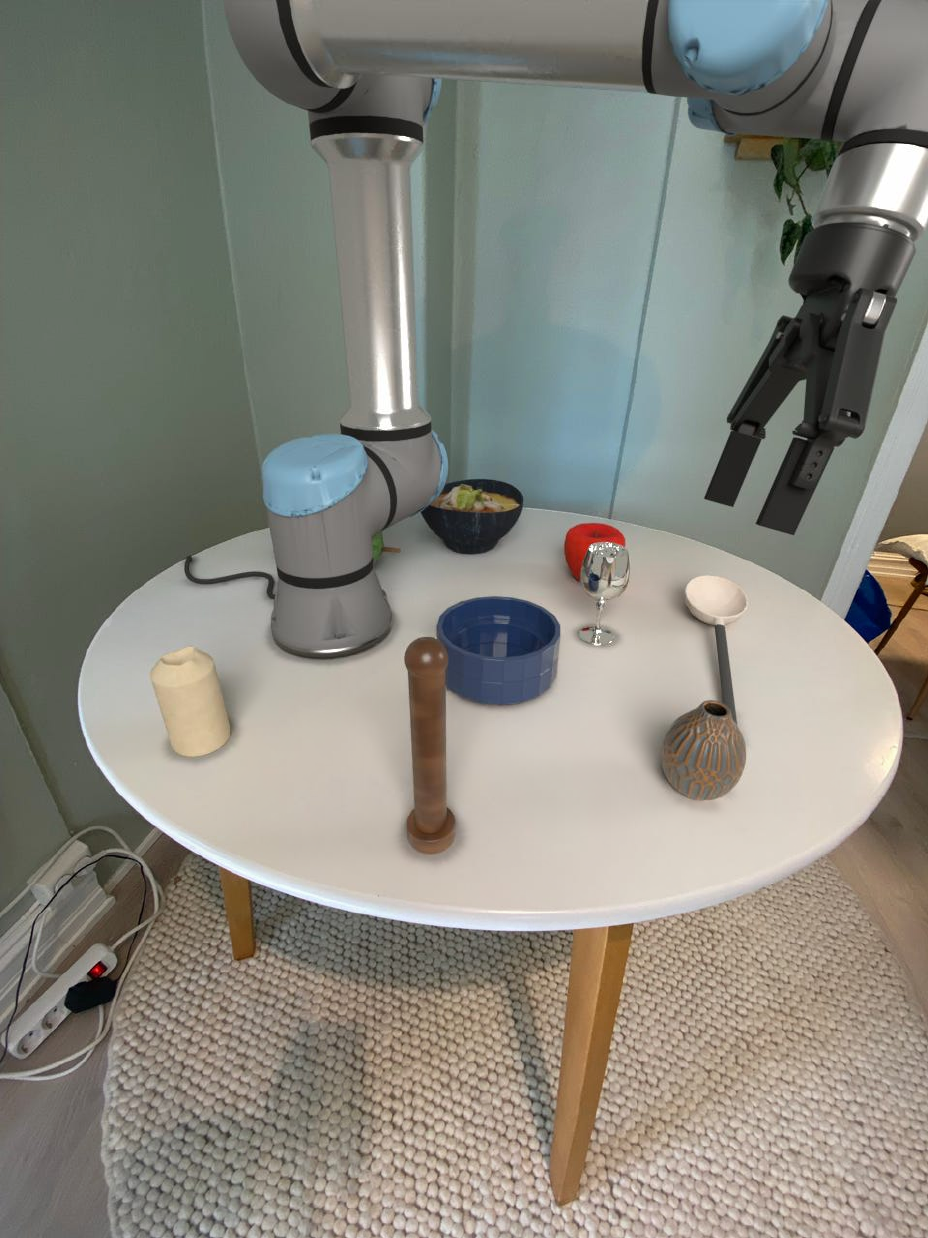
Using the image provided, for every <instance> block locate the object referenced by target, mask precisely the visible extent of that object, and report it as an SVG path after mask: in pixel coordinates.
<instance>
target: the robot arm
mask: <svg viewBox="0 0 928 1238" xmlns="http://www.w3.org/2000/svg"><path fill="white" fill-rule="evenodd" d="M223 5H224V14H225V18H226V23H227V27H228V31H229V34H230V36H231V39H232V42H233V45H234V47H235V49H236V51H237V54H238V55H239V57H240V59H241V61H242V62H243V64H244V66H245V67H246V69H247V70H248V71H249V72H250V74H251V75H252V76H253V78H254V79H255V80H256V81H257V83H258V84H259V85H261V86H262V88H264V89H265V90H266V91H267V92H269V93H270V94H271V95H272V96H274V97H276V98H277V99H279V100H281V101H282V102H284V103H286V104H288V105H290V106H294V107H297V108H299V109H301V110H304V111H307V117H308V127H309V137H310V145H311V148H312V149H313V151H315V153H316V155H318V156H319V157H320V159H321V160H322V161H323V162H324V163H325V165H326V167H327V168H328V179H329V188H330V189H329V190H330V201H331V211H332V221H333V222H332V223H333V232H334V233H333V234H334V240H335V241H334V243H335V255H336V265H337V275H338V277H337V278H338V285H339V286H338V287H339V288H338V289H339V297H340V308H341V319H342V330H343V340H344V341H343V342H344V351H345V363H346V373H347V382H348V383H347V384H348V396H349V406H348V408H347V409H345V411H344V413H343V414H342V415H341V416H340V417H339V427H340V428H339V429H340V434H339V433H322V434H321V433H320V434H314V435H313V436H310V437H308V436H303V437H299V438H295V439H292V440H288V441H287V442H285V443H283V444H280V445H279V446H277V447H275V448H274V449H273V450H271V451H270V452H269V453H268V454H267V455H266V457H265V458H264V460H263V462H262V466H261V479H262V492H261V494H262V499H263V503H264V505H265V511H266V515H267V516H266V517H267V521H268V527H269V532H270V533H269V534H270V538H271V544H272V548H273V549H272V550H273V554H274V561H275V562H274V563H275V567H276V573H277V584H276V589H275V593H273V587H274V577H273V576H272V575H271V573H268V572H264V571H258V570H257V571H255V570H253V571H244V572H239V573H234V574H229V575H225V576H219V577H214V578H199V577H194V575H192V573H191V570H190V567H191V562H192V559H193V556H192V555H187V556H186V558H185V560H184V565H183V567H184V568H183V570H184V574H185V576H186V578H187V579H188V580H189V581H190V582H192V583H195V584H198V585H199V584H200V585H211V584H219V583H224V582H229V581H233V580H238V579H242V578H248V577H262V578H265V579H267V581H268V582H267V587H266V596H267V597H268V598H269V599H271V600H273V605H272V606H273V608H272V611H271V615H270V631H271V637H272V639H273V642H274V643H275V645H276V646H277V647H278V648H279V649H280V650H282V651H284V652H285V653H288V654H289V655H293V656H295V657H299V658H303V659H312V660H334V659H341V658H347V657H351V656H354V655H358V654H360V653H363V652H366V651H368V650H371V649H372V648H374V647H376V646H378V645H379V644H380V643H382V642H383V641H384V640H386V638H387V637H388V635H389V634H390V632H391V629H392V628H393V614H392V610H391V606H390V602H389V601H388V598H389V597H388V595H387V592H386V590H384V589H383V588H382V585H381V582H380V581H379V578H378V576H377V573H376V571H375V564H374V561H373V547H372V537H373V536H374V535H375V534H377V533H379V532H383V531H385V530H387V529H389V528H390V527H392V526H394V525H396V524H398V523H399V522H402V521H403V520H405V519H407V518H411V517H414V516H416V515H418V514H421V511H423V510H424V509H425V508H426V507H427V506H428V505H430V504H431V503H432V502H433V501H435V500H436V499H437V497H438V496H439V495H440V493H441V492H442V490H443V488H444V486H445V484H447V479H448V475H449V459H448V455H447V454H448V453H447V451H446V448H445V445H444V443H443V442H441V441H439V435H438V434H437V433H436V432H435V431H434V430H433V429H432V428H433V427H432V415H431V414H429V412H428V411H427V410H426V409H425V408H424V407H423V406H422V405H421V403H420V399H419V376H418V375H419V373H418V347H417V320H416V294H415V293H416V292H415V268H414V267H415V266H414V262H415V261H414V238H413V212H412V211H413V208H412V187H411V186H412V184H411V181H412V180H411V168H412V166H413V164H414V163H415V161H416V160H417V158H418V157H419V156H420V155H421V153H422V152H423V151H424V148H425V147H424V145H425V144H424V126H425V125H426V124H427V123H428V122H429V120H430V118H431V117H432V113H431V112H432V110H433V108H434V107H436V106H437V104H438V101H439V98H440V93H441V88H442V84H443V83H442V81H443V80H450V81H465V82H466V81H467V82H480V83H492V84H493V83H494V84H510V85H522V86H523V85H525V86H539V87H553V88H554V87H555V88H569V89H570V88H571V89H584V90H599V91H615V92H629V93H641V94H642V93H643V94H652V95H658V96H665V97H666V96H667V97H675V98H686V104H687V116H688V120H689V121H690V123H691V125H692V126H694V127H695V128H697V129H700V130H707V131H713V132H718V133H723V134H724V135H726V137H733V136H736V135H753V136H767V137H769V136H770V137H783V138H784V137H785V138H799V139H814V140H822V141H823V142H825V141H826V142H833V141H834V142H842V144H841V145H842V146H841V148H840V149H839V151H838V154H837V157H836V158H835V160H834V162H833V164H832V166H831V168H830V172H829V174H828V176H827V179H826V182H825V184H824V186H823V188H822V191H821V194H820V196H819V199H818V202H817V204H816V206H815V208H814V211H813V214H812V216H811V218H810V220H811V226H812V228H813V229H812V230H810V231H809V232H808V233H807V234H805V236H804V239H803V240H802V243H801V246H800V248H799V251H798V254H797V256H796V258H795V261H794V263H793V267H792V269H791V270H790V274H789V276H788V281H787V282H788V286H789V288H790V289H791V291H793V292H794V293H795V294H799V295H800V297H801V298H802V300H803V301H802V305H801V306H800V308H799V310H798V311H797V313H796V315H795V317H791V316H788V315H782V316H780V318H779V319H778V320H777V322H776V325H775V327H774V330H773V332H772V334H771V336H770V339H769V341H768V343H767V345H766V346H765V349H764V351H763V352H762V353H761V356H760V357H759V359H758V361H757V363H756V365H755V367H754V369H753V370H752V371H751V374H750V375H749V377H748V379H747V381H746V382H745V385H744V386H743V388H742V389H741V391H740V394H739V395H738V397H737V398H736V401H735V402H734V404H733V406H732V408H731V409H730V410H729V413H727V417H726V423H727V424H730V427H729V429H730V432H729V435H728V438H727V440H726V442H725V444H724V447H723V449H722V452H721V455H720V457H719V460H718V463H717V464H716V467H715V470H714V472H713V475H712V477H711V480H710V482H709V485H708V487H707V489H706V492H705V494H704V497H703V499H704V500H706V501H710V502H713V503H717V504H720V505H724V506H727V507H731V508H734V507H735V504H736V502H737V499H738V496H739V494H740V492H741V491H742V490H741V489H742V487H743V485H744V483H745V480H746V478H747V475H748V473H749V471H750V468H751V466H752V465H753V461H754V459H755V456H756V455H757V452H758V450H759V447H760V445H761V442H762V440H765V439H766V438H767V437H766V436H767V431H766V430H767V429H766V428H765V427H766V425H767V424H768V423H769V422H770V420H771V419H772V418H773V417H774V415H775V413H776V412H777V411H778V410H779V409H780V407H781V406H782V404H783V403H784V401H786V399H787V398H788V396H789V395H790V394H791V393H792V391H793V390H794V388H795V387H796V386H797V385H798V383H799V382H801V381H805V392H804V404H803V405H804V407H803V420H801V423H799V424H798V425H796V427H795V428H794V430H792V431H791V433H792V435H793V436H795V437H792V439H791V442H790V444H789V447H788V448H787V451H786V453H785V455H784V457H783V459H782V462H781V465H780V467H779V468H778V472H777V474H776V475H775V478H774V480H773V483H772V484H771V488H770V489H769V492H768V494H767V497H766V498H765V501H764V502H763V503H764V504H763V505H762V507H761V510H760V513H759V515H758V517H757V519H756V522H755V525H757V526H759V527H763V528H767V529H770V530H773V531H776V532H780V533H784V534H787V535H791V536H794V535H795V534H796V532H797V530H798V527H799V525H800V523H801V521H802V519H803V517H804V515H805V513H806V510H807V508H808V507H809V504H810V502H811V499H812V498H813V495H814V493H815V491H816V490H817V489H816V488H817V487H818V484H819V483H820V480H821V478H822V475H823V474H824V472H825V471H826V467H827V466H828V463H829V461H830V459H831V457H832V455H833V452H834V451H835V447H836V448H839V447H840V446H841V445H843V444H844V442H845V440H846V439H848V438H851V439H854V440H855V439H858V438H859V437H861V436H862V435H863V433H864V432H865V429H866V426H867V421H868V417H869V412H870V407H871V402H872V398H873V392H874V387H875V384H876V379H877V375H878V368H879V363H880V359H881V355H882V349H883V345H884V340H885V336H886V331H887V328H888V325H889V324H890V322H891V318H892V316H893V314H894V312H895V309H896V306H897V304H898V298H897V297H896V296H897V295H898V292H899V290H900V288H901V286H902V284H903V281H904V279H905V277H906V275H907V273H908V271H909V269H910V267H911V265H912V262H913V260H914V257H915V256H916V253H917V248H916V244H915V242H916V241H918V240H919V239H921V238H922V237H923V236H924V234H925V231H926V229H927V227H928V0H223ZM849 413H850V414H849ZM848 414H849V415H848ZM796 436H797V437H796Z"/></svg>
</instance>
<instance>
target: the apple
mask: <svg viewBox="0 0 928 1238" xmlns="http://www.w3.org/2000/svg"><path fill="white" fill-rule="evenodd" d="M598 542H611V543H616V544H619V545H622V546H624V547H626V538H625V536H624V533H622V531H620V530H619V529H618V528H616V527H614V526H612V525H610V524H606V523H600V522H585V523H579V524H576V525H575V526H572V527H571V528H569V529H568V530H567V532H566V535H565V539H564V543H563V547H564V548H563V549H564V550H563V551H564V558H565V562H566V565H567V567H568V569H569V571H570V573H571V575H572V577H573V578H574V579H576V580H577V581H579V582H581V581H580V574H581V568H582V564H583V561H584V558H585V555H586V552H587V550H588V548H589V546H590V545H591V544H593V543H598Z"/></svg>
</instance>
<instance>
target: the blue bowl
mask: <svg viewBox="0 0 928 1238" xmlns="http://www.w3.org/2000/svg"><path fill="white" fill-rule="evenodd" d="M435 627H436V628H435V630H436V632H435V633H436V639H437V640H439V641H440V642H441V643H442V644H443V645H444V646H445V648H446V650H447V653H448V665H447V668H446V689H448V690H450V691H451V692H453V693H454V694H456V695H458V696H459V697H461V698H463V699H466V700H470V701H473V702H476V703H479V704H484V705H485V704H486V705H496V706H497V705H498V706H503V705H512V704H513V705H514V704H520V703H524V702H527V701H530V700H533V699H537V698H538V697H540V696H541V695H543V694H544V693H545V692H546V691H548V690H549V689H550V688H551V687H552V685H553V684H554V681H555V680H556V679H557V672H558V661H559V652H560V643H561V635H562V634H561V624H560V622H559V621H558V619H557V617H556V616H555V615H554V614H553V613H552V612H551V611H549V610H548V609H546V608H545V607H543V606H541V605H539V604H536V603H534V602H532V601H529V600H525V599H522V598H518V597H511V596H499V595H498V596H497V595H490V596H489V595H488V596H481V597H480V596H477V597H472V598H468V599H465V600H461V601H459V602H457V603H454V604H453V605H451V606H449V607H448V608H446V609H445V610H444V611H443V612H442V613H441V614H440V615H439V616H438V619H437V623H436V626H435Z"/></svg>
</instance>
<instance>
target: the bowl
mask: <svg viewBox="0 0 928 1238" xmlns="http://www.w3.org/2000/svg"><path fill="white" fill-rule="evenodd" d="M523 507H524V496H523V493H522V492H521V491H520V490H519V489H518V488H517V487H516V486H515V485H513V484H511V483H508V482H505V481H501V480H498V479H490V478H489V479H488V478H470V479H468V478H467V479H462V480H457V481H452V482H448V483H447V482H446V483H445V486H444V488H443V490H442V492H441V493H440V495H439V496H438V497H437V499H436V500H435V501H433V502H432V503H431V504H430V505H428V506H427V507H426V508H425V509H424V510H423V511H421V512H420V514H421V517H422V518H423V520H424V522H425V523H426V524H427V526H428V528H429V529H430V531H432V532H433V533H434V534H435V535H436V536H437V537H438V538H440V539H441V540H442V542H443V543H444V545H445V547H446V548H447V549H448V550H449V551H452V552H454V553H457V554H462V555H480V554H485V553H488V552H490V551H492V550H493V549H494V548H495V547H496V545H497V544H498V542H499V541H500V540H501V539H503V537H505V536H506V535H508V533H509V532H510V531H511V530H512V529H513V528H514V527H515V525H516V524H517V523H518V521H519V519H520V517H521V515H522V512H523V509H524V508H523Z"/></svg>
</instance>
